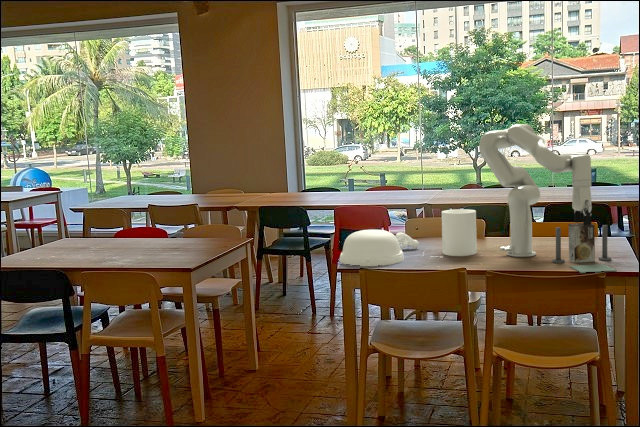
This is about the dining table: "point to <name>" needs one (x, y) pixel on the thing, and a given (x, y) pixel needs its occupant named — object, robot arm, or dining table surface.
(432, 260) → the dining table surface
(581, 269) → the green mat
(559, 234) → the post
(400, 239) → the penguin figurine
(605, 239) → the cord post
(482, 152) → the robot arm
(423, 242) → the dining table surface
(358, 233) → the dome cover
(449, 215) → the canister
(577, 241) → the coffee box
